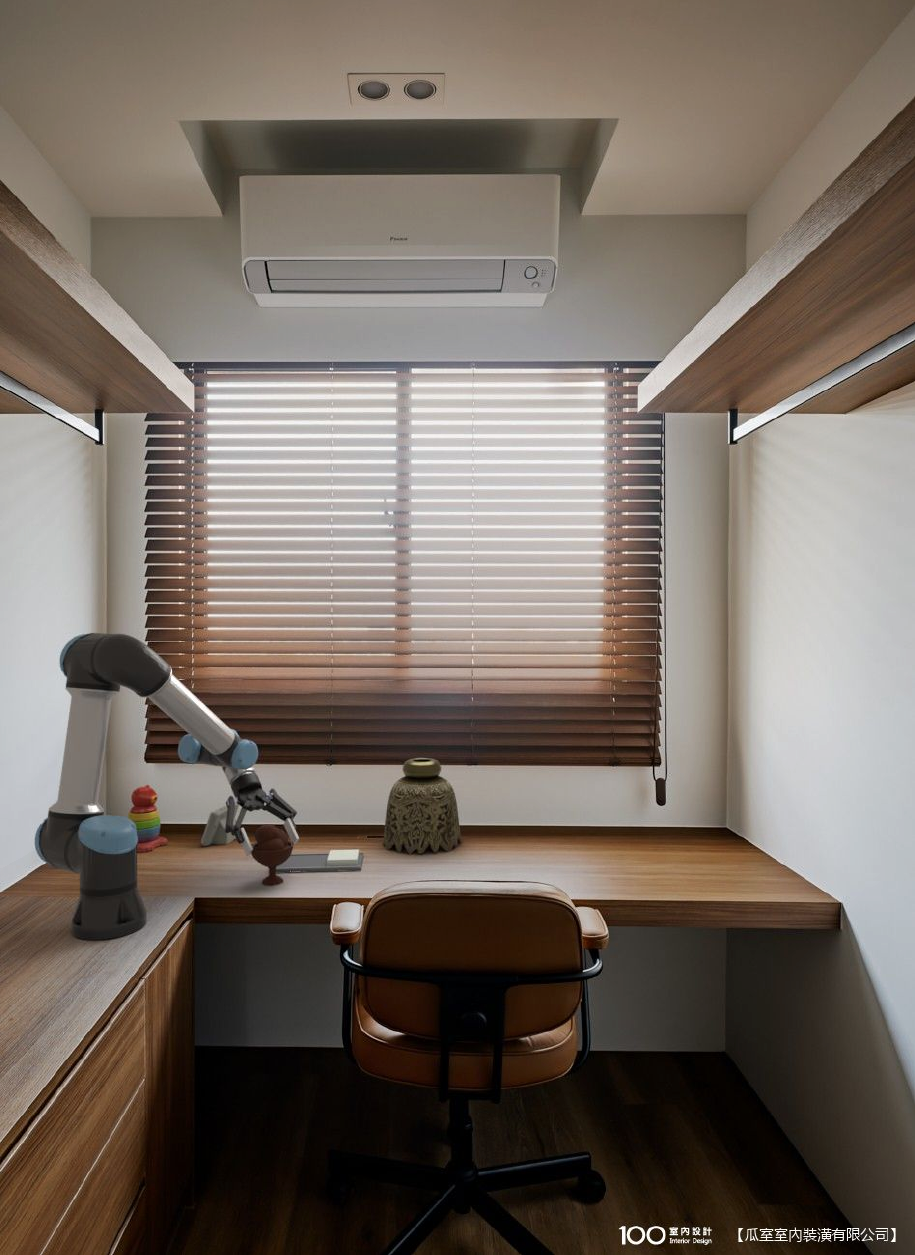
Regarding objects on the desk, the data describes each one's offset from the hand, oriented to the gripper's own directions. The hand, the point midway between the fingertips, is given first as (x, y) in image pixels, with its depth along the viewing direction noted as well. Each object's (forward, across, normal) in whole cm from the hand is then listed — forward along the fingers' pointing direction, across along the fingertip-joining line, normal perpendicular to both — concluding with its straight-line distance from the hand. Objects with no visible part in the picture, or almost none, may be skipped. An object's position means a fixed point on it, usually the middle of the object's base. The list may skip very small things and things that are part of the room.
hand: (273, 847), depth 207 cm
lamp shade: (+8, -49, -5) cm, 50 cm away
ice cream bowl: (+7, +1, -6) cm, 9 cm away
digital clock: (-25, -8, -38) cm, 46 cm away
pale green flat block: (+7, -21, -5) cm, 23 cm away
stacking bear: (-31, +11, -44) cm, 55 cm away
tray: (+4, -16, -8) cm, 18 cm away
